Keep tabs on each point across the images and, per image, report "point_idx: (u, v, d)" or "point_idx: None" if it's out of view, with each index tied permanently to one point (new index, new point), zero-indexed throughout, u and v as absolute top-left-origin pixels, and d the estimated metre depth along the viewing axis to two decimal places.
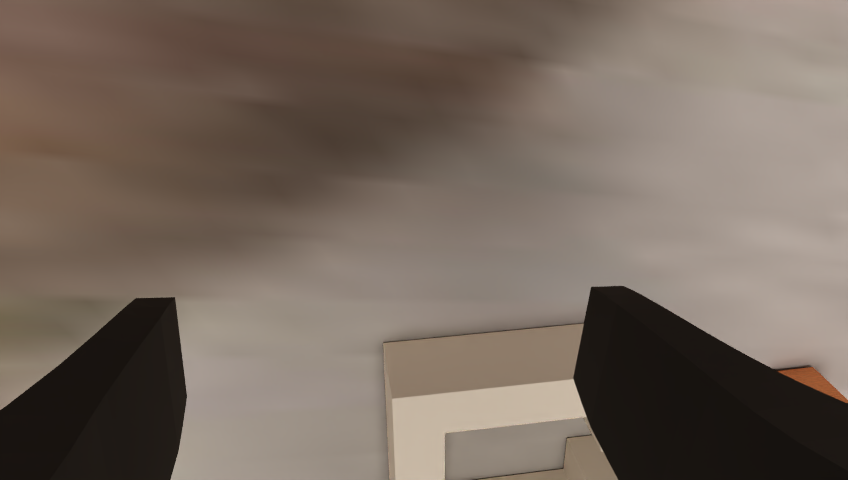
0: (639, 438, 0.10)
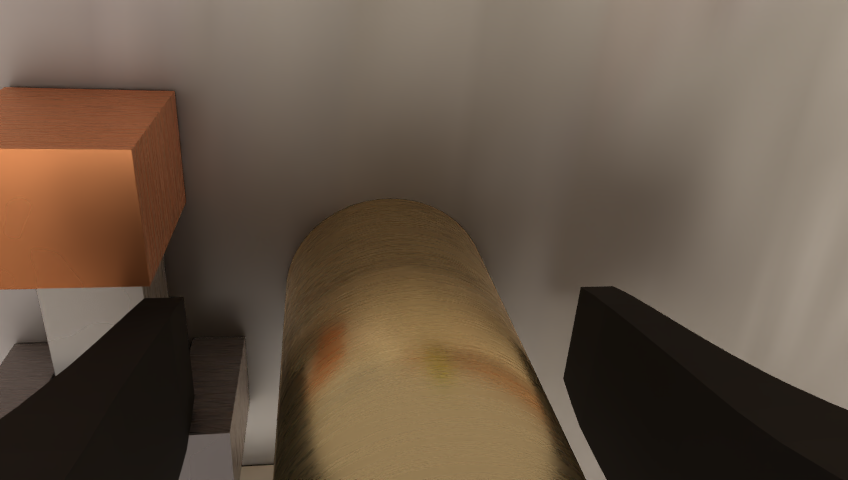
0: (628, 438, 0.10)
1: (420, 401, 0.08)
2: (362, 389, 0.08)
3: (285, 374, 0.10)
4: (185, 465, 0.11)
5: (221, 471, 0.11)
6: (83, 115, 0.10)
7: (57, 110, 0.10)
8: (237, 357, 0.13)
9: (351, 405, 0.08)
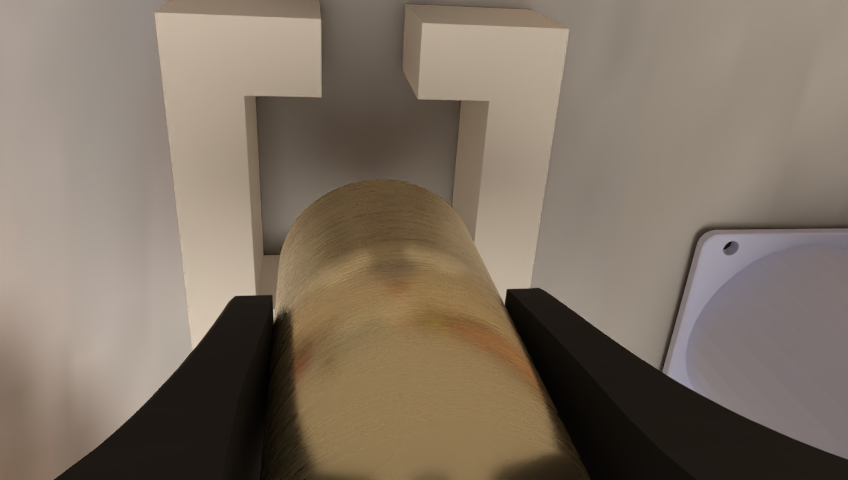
0: None
1: (422, 360, 0.08)
2: (363, 347, 0.08)
3: (280, 337, 0.10)
4: None
5: None
6: None
7: None
8: None
9: (351, 361, 0.08)
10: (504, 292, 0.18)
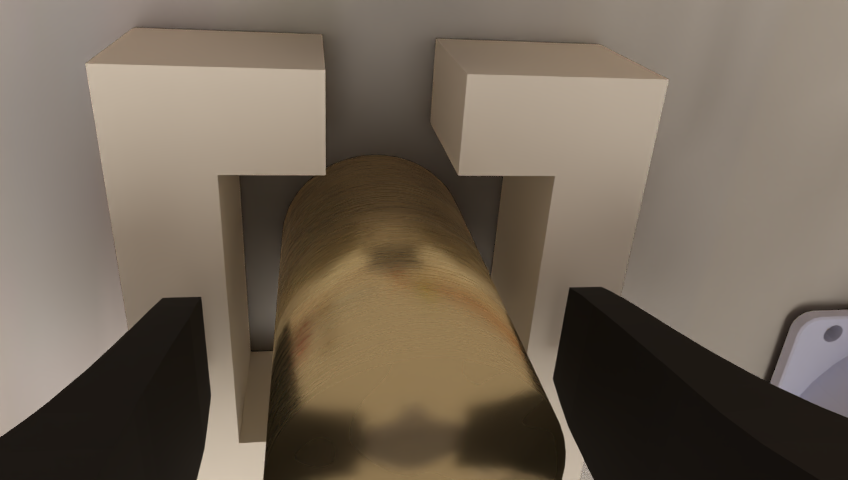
0: (614, 439, 0.10)
1: (408, 305, 0.09)
2: (357, 296, 0.09)
3: (284, 293, 0.11)
4: None
5: None
6: None
7: None
8: None
9: (347, 307, 0.09)
10: None
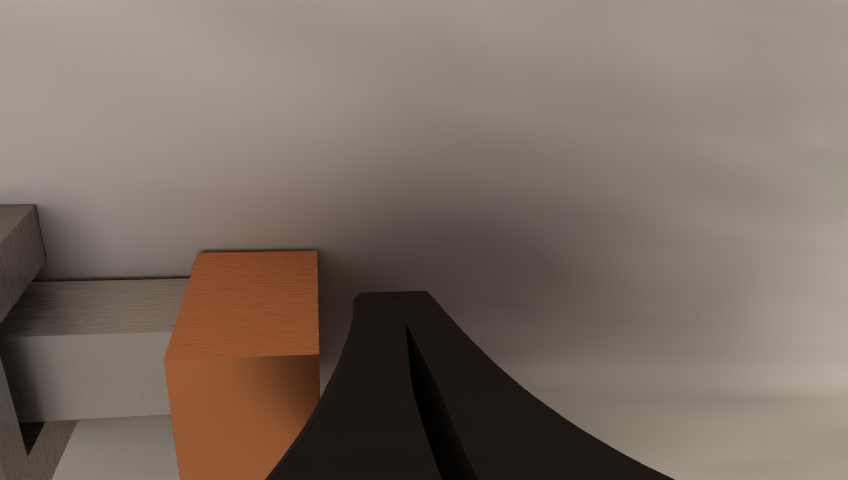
0: None
1: None
2: None
3: None
4: None
5: None
6: None
7: None
8: (67, 438, 0.12)
9: None
10: None
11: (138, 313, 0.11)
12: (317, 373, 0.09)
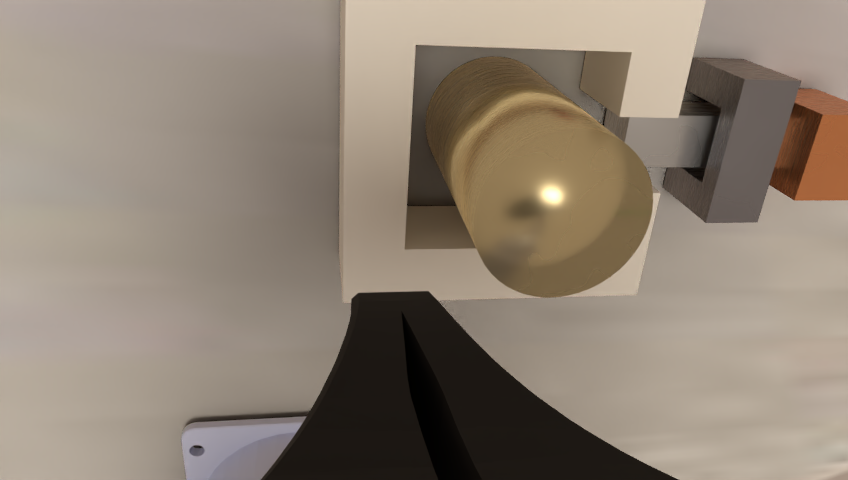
0: None
1: None
2: None
3: (561, 94, 0.17)
4: (744, 199, 0.20)
5: (733, 216, 0.20)
6: None
7: None
8: None
9: None
10: (414, 280, 0.19)
11: None
12: None
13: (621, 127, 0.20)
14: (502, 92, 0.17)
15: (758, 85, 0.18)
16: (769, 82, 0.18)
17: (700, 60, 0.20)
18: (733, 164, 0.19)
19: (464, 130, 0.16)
